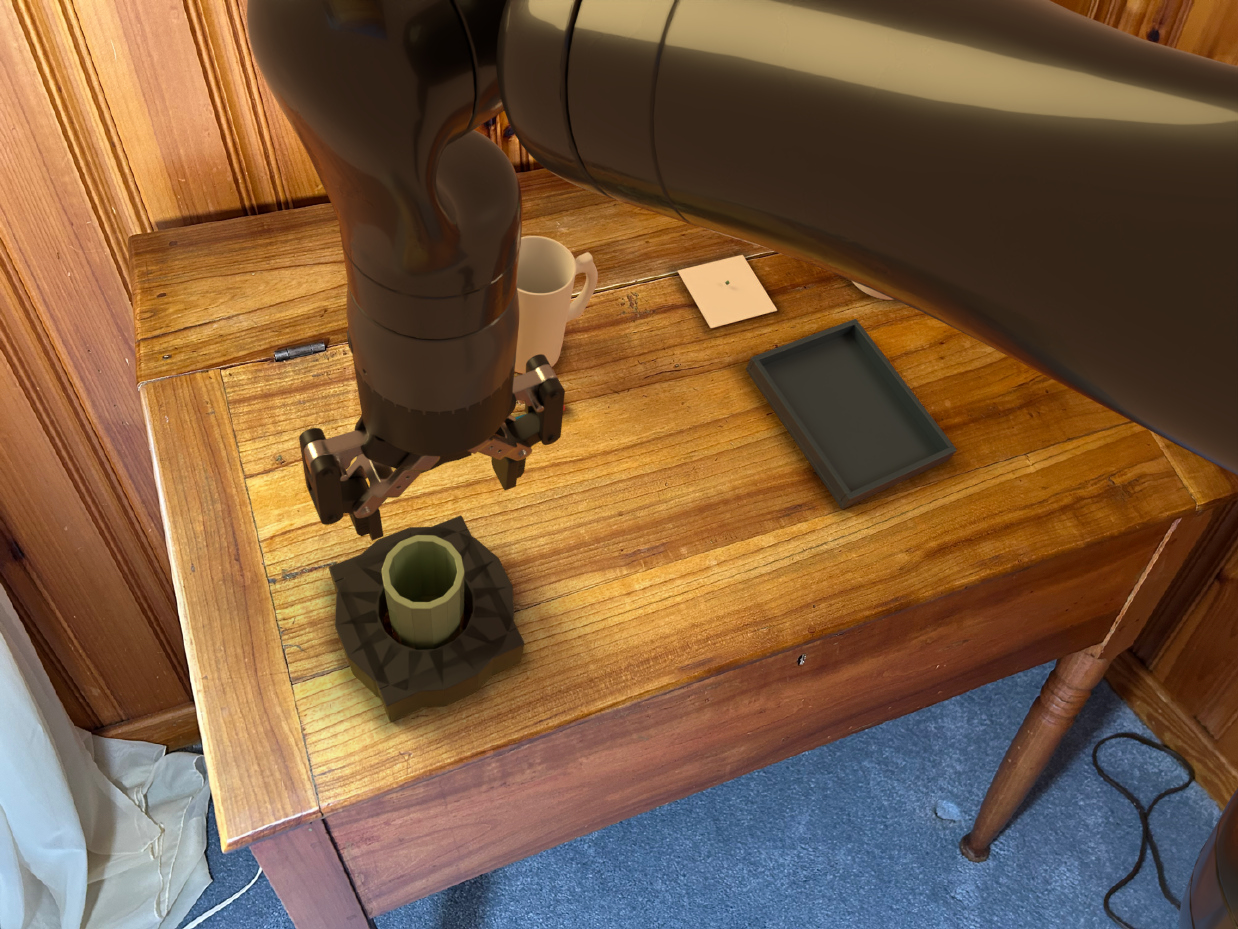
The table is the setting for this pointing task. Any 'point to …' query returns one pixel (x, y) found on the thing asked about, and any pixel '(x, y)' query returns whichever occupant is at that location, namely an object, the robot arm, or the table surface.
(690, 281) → the coaster
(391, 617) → the cup
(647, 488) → the table surface
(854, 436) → the tray
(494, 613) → the dark brown carved ring
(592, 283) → the mug
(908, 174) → the robot arm
